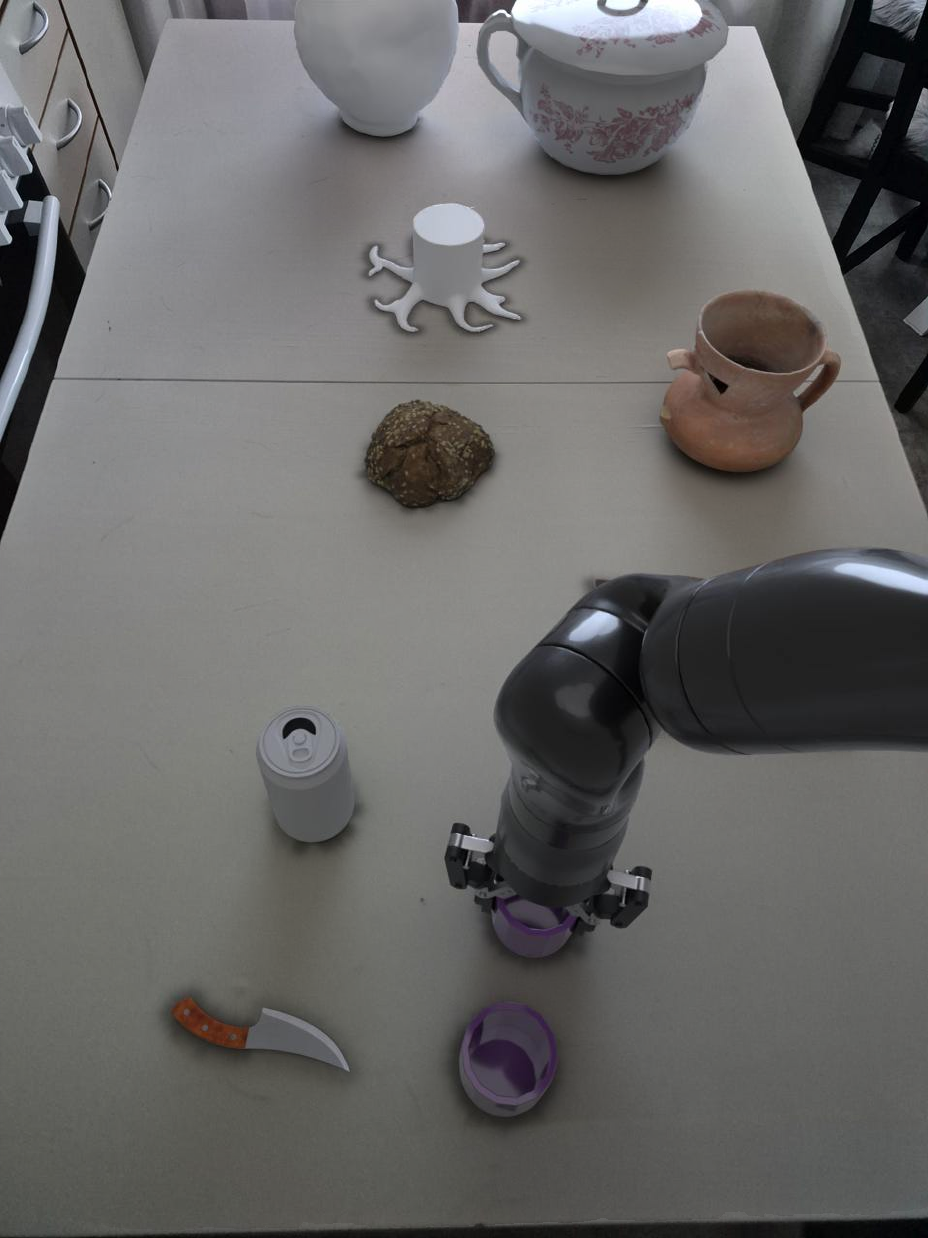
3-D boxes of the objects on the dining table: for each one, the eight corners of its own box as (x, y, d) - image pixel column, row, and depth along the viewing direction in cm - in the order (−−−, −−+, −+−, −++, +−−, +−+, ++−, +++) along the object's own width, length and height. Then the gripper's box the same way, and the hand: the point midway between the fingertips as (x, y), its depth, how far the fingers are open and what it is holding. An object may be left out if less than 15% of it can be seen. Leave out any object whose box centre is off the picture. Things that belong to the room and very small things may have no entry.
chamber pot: (736, 150, 135) (782, -14, 118) (615, 229, 123) (646, 60, 106) (583, 75, 146) (604, -85, 129) (457, 142, 134) (463, -24, 117)
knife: (360, 1029, 67) (348, 1075, 66) (360, 1031, 68) (349, 1076, 66) (179, 987, 68) (163, 1031, 67) (180, 989, 69) (165, 1033, 67)
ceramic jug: (658, 488, 98) (690, 381, 87) (635, 390, 106) (661, 280, 95) (829, 485, 99) (884, 379, 88) (794, 388, 108) (839, 279, 96)
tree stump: (536, 246, 121) (543, 186, 114) (514, 347, 110) (520, 286, 103) (380, 225, 122) (378, 164, 116) (343, 322, 111) (338, 261, 105)
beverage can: (350, 766, 79) (340, 693, 70) (359, 840, 76) (349, 774, 66) (272, 777, 79) (251, 705, 69) (277, 852, 75) (255, 787, 65)
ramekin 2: (563, 1096, 66) (573, 1082, 62) (477, 1132, 65) (481, 1121, 60) (528, 1006, 69) (535, 987, 65) (445, 1039, 68) (447, 1022, 63)
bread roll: (406, 403, 104) (406, 367, 100) (507, 446, 101) (510, 411, 97) (339, 477, 98) (336, 442, 94) (445, 526, 94) (445, 492, 90)
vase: (277, 123, 135) (244, -137, 110) (381, 68, 145) (373, -182, 120) (374, 174, 129) (363, -89, 104) (477, 113, 138) (488, -141, 114)
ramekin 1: (587, 940, 72) (598, 918, 68) (509, 970, 71) (515, 949, 66) (554, 865, 75) (562, 839, 71) (478, 892, 74) (482, 867, 69)
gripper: (429, 854, 57) (428, 937, 71) (672, 912, 55) (622, 986, 69) (459, 743, 61) (452, 843, 75) (685, 795, 60) (635, 886, 73)
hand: (534, 911), depth 72 cm, fingers closed on ramekin 1, 6 cm apart
